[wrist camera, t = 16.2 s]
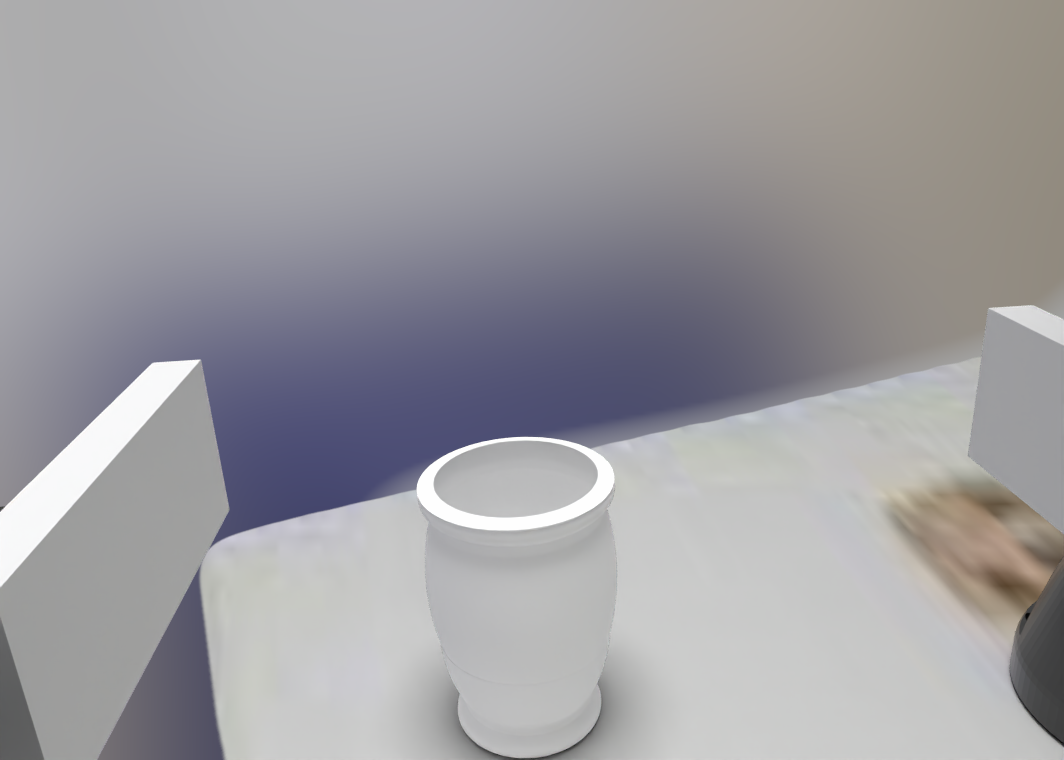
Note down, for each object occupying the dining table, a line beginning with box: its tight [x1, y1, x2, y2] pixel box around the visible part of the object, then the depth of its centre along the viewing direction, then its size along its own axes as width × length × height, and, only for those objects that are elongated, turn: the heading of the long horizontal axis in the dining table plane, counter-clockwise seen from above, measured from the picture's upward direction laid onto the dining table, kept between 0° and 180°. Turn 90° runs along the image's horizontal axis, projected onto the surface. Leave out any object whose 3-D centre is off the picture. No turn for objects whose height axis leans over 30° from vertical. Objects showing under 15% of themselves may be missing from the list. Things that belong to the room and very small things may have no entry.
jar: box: [417, 437, 617, 758], centre depth 49 cm, size 11×10×15 cm
